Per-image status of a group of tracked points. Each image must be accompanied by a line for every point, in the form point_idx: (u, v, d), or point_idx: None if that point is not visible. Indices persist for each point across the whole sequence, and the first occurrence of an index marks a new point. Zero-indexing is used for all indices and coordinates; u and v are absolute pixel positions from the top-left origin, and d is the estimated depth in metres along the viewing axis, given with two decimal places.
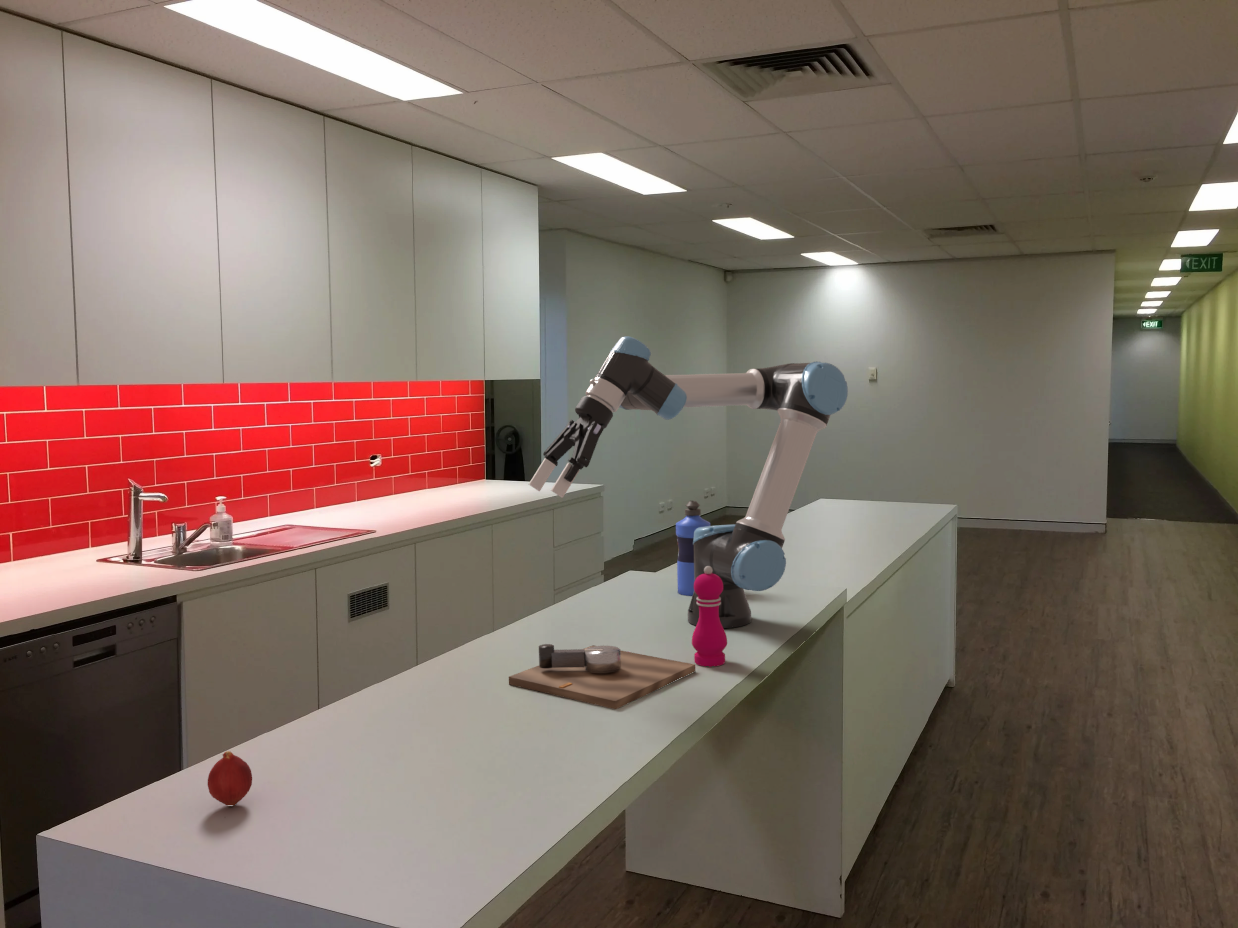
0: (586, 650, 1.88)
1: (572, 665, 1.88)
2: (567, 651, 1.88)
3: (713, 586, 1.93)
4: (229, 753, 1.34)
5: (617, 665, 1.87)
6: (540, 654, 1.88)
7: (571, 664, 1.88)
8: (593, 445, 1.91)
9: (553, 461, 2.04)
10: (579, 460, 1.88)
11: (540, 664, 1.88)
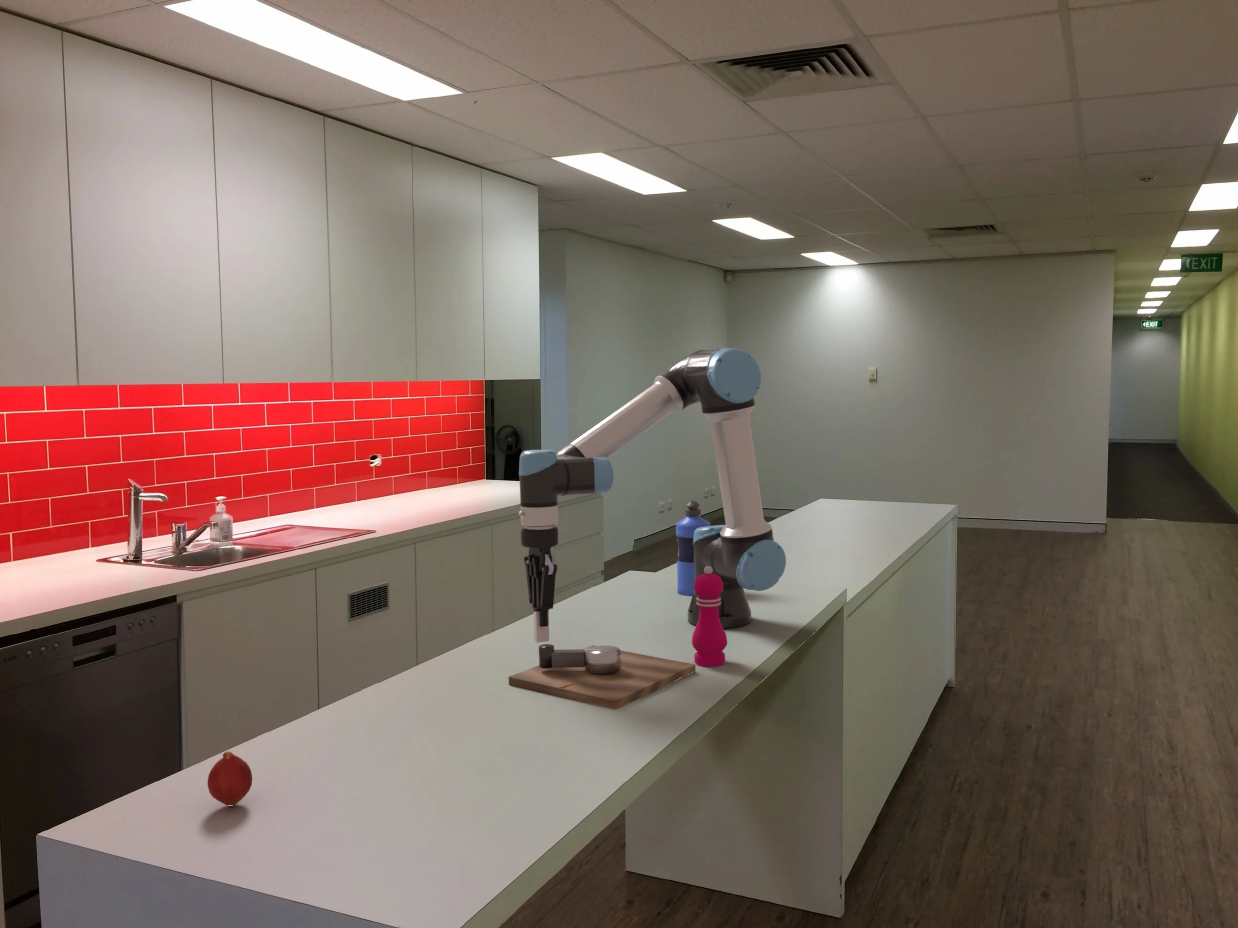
0: (586, 650, 1.88)
1: (572, 665, 1.88)
2: (567, 651, 1.88)
3: (713, 586, 1.93)
4: (229, 753, 1.34)
5: (617, 665, 1.87)
6: (540, 654, 1.88)
7: (571, 664, 1.88)
8: (552, 587, 1.92)
9: None
10: (542, 609, 1.93)
11: (540, 664, 1.88)
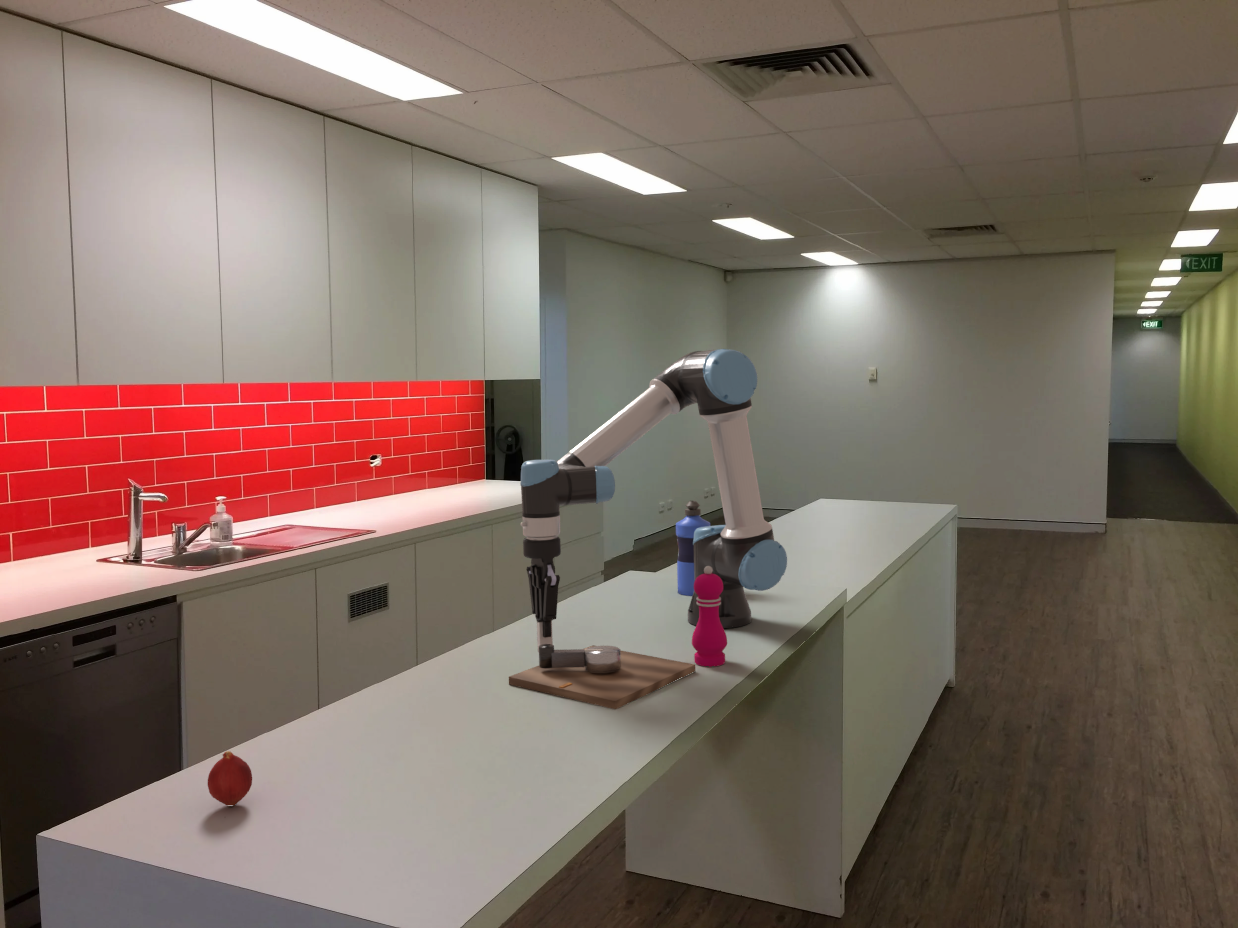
0: (586, 650, 1.88)
1: (572, 665, 1.88)
2: (567, 651, 1.88)
3: (713, 586, 1.93)
4: (229, 753, 1.34)
5: (617, 665, 1.87)
6: (540, 654, 1.88)
7: (571, 664, 1.88)
8: (555, 598, 1.91)
9: None
10: (545, 620, 1.92)
11: (540, 664, 1.88)
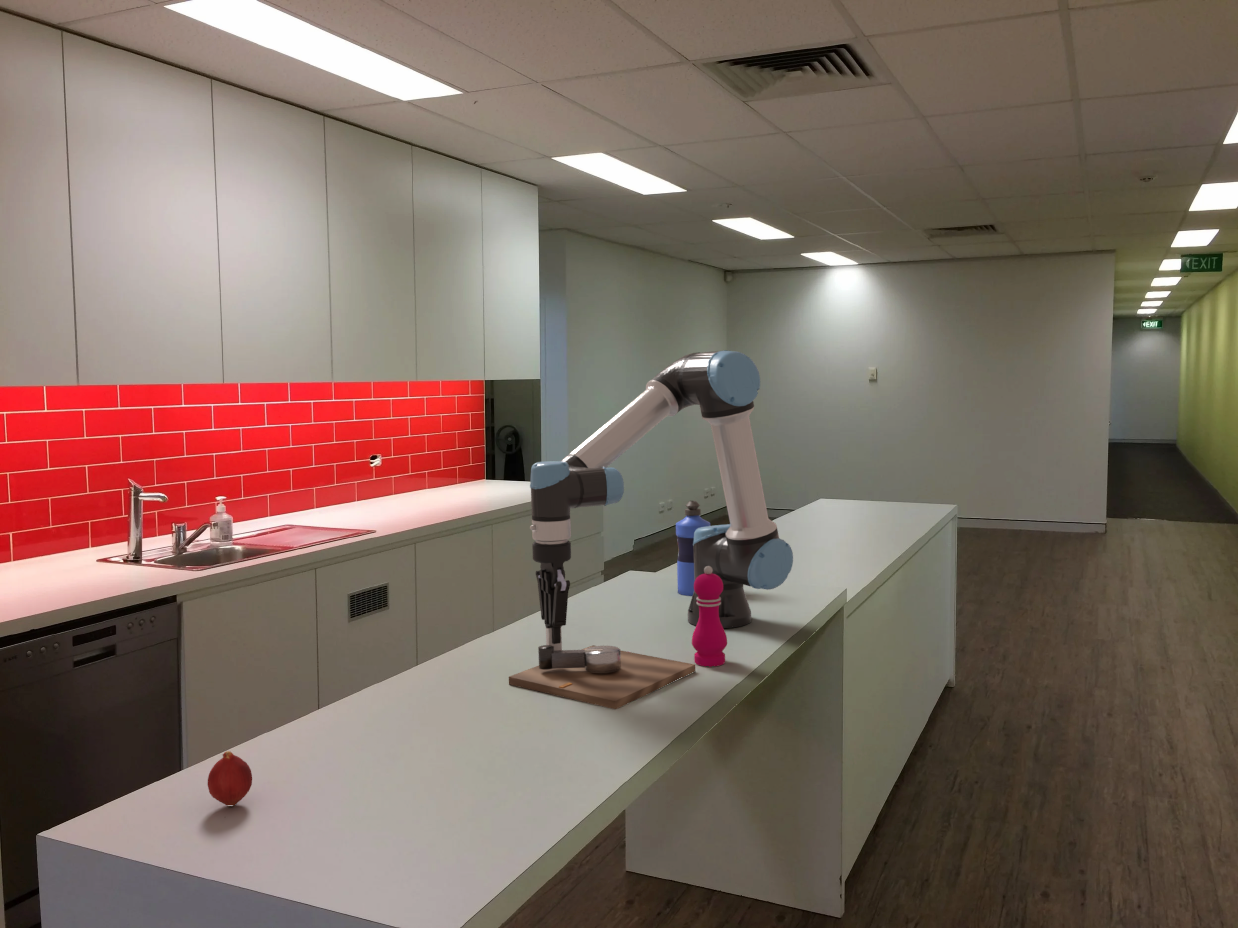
0: (586, 650, 1.88)
1: (572, 666, 1.87)
2: (567, 652, 1.87)
3: (713, 586, 1.93)
4: (229, 753, 1.34)
5: (618, 664, 1.87)
6: (540, 655, 1.87)
7: (571, 665, 1.87)
8: (564, 603, 1.86)
9: None
10: (555, 626, 1.87)
11: (540, 665, 1.87)
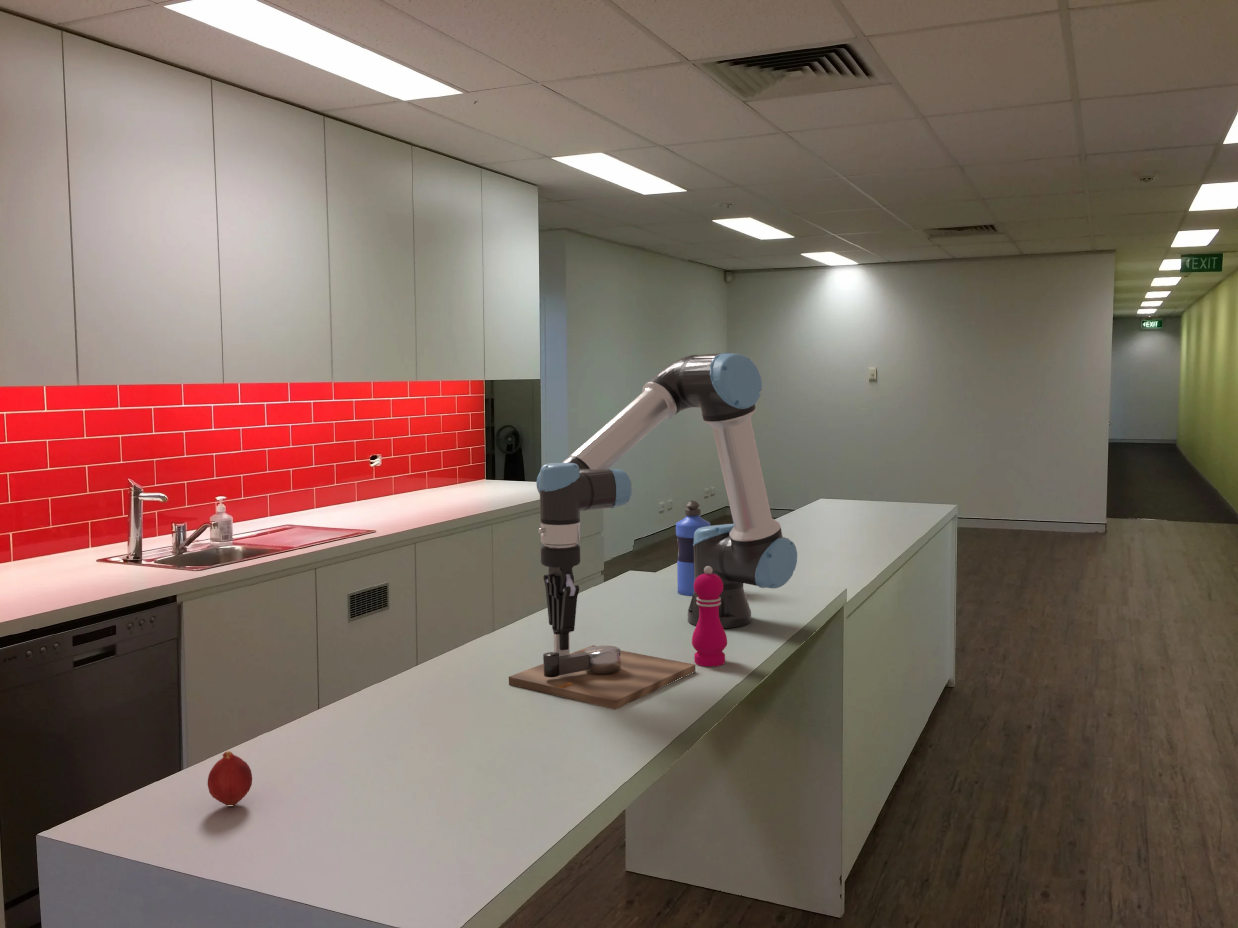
0: (588, 652, 1.87)
1: (578, 669, 1.85)
2: (572, 656, 1.84)
3: (713, 586, 1.93)
4: (229, 753, 1.34)
5: (620, 662, 1.88)
6: (548, 663, 1.82)
7: (577, 668, 1.85)
8: (573, 609, 1.81)
9: None
10: (563, 632, 1.82)
11: (548, 673, 1.82)
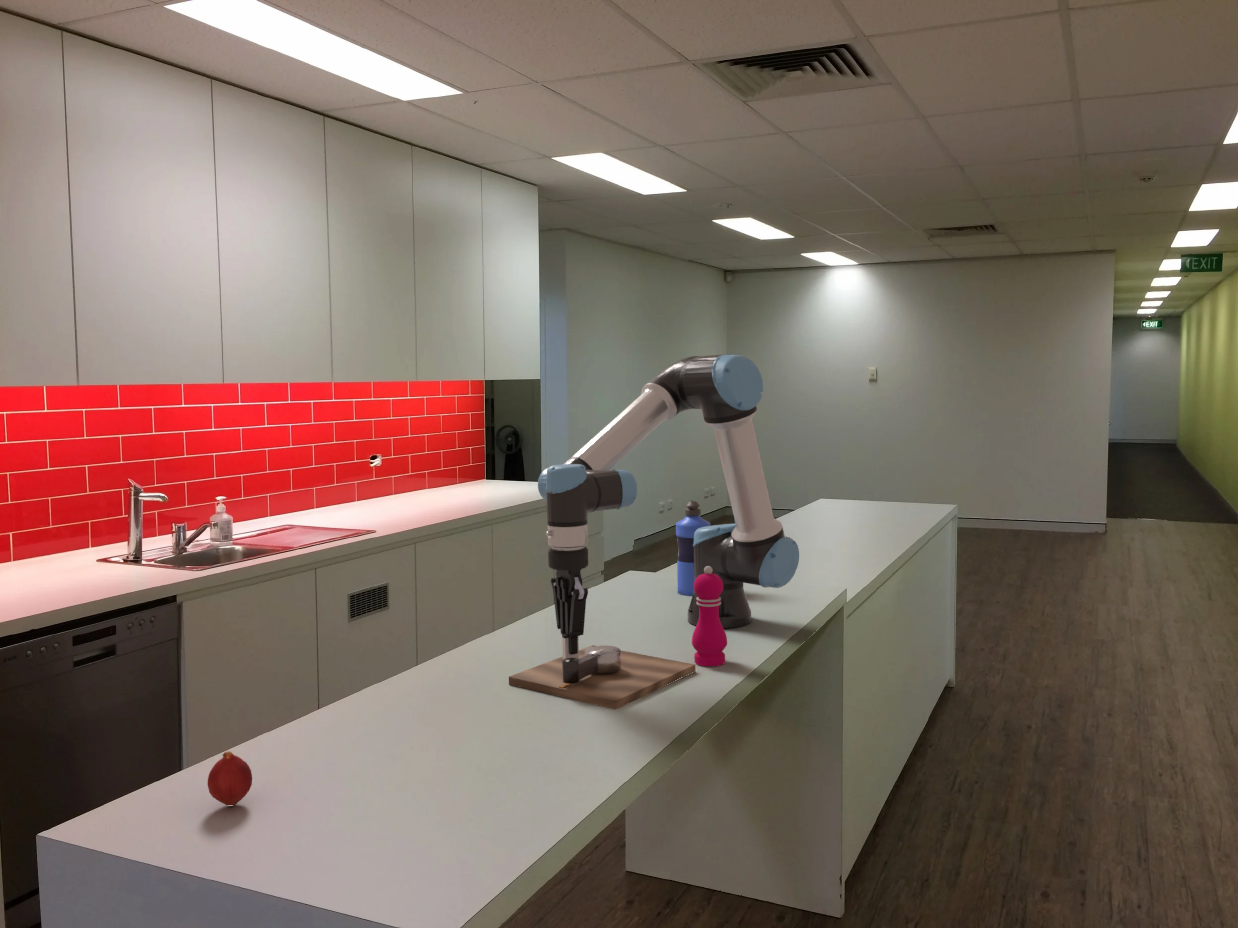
0: (594, 654, 1.86)
1: (590, 672, 1.83)
2: (586, 659, 1.82)
3: (713, 586, 1.93)
4: (229, 753, 1.34)
5: None
6: (571, 669, 1.78)
7: (590, 671, 1.83)
8: (582, 612, 1.78)
9: None
10: (572, 636, 1.79)
11: (571, 680, 1.78)
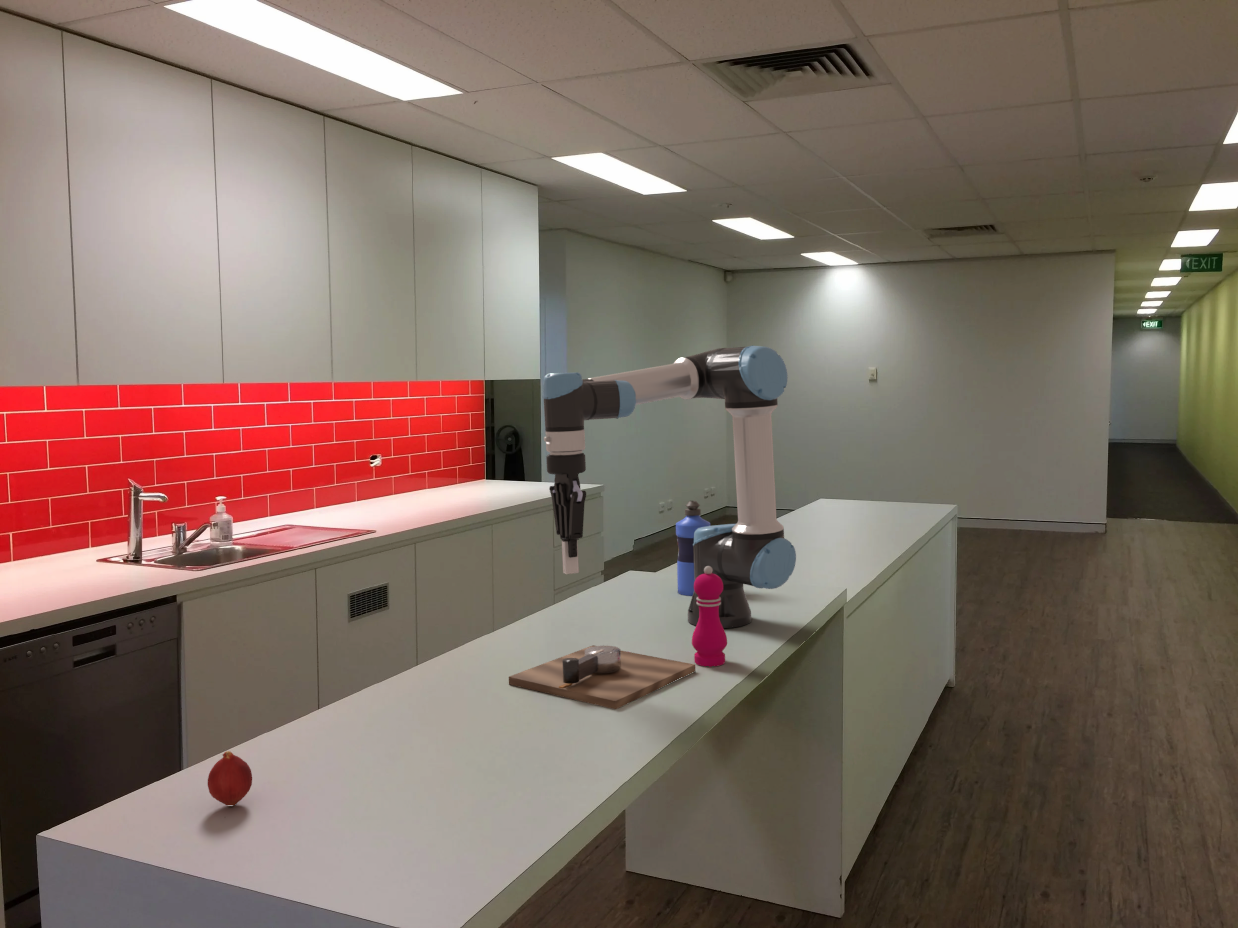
0: (594, 654, 1.86)
1: (590, 672, 1.83)
2: (586, 659, 1.82)
3: (713, 586, 1.93)
4: (229, 753, 1.34)
5: None
6: (572, 669, 1.78)
7: (590, 671, 1.83)
8: (581, 515, 1.83)
9: None
10: (572, 538, 1.84)
11: (571, 680, 1.78)
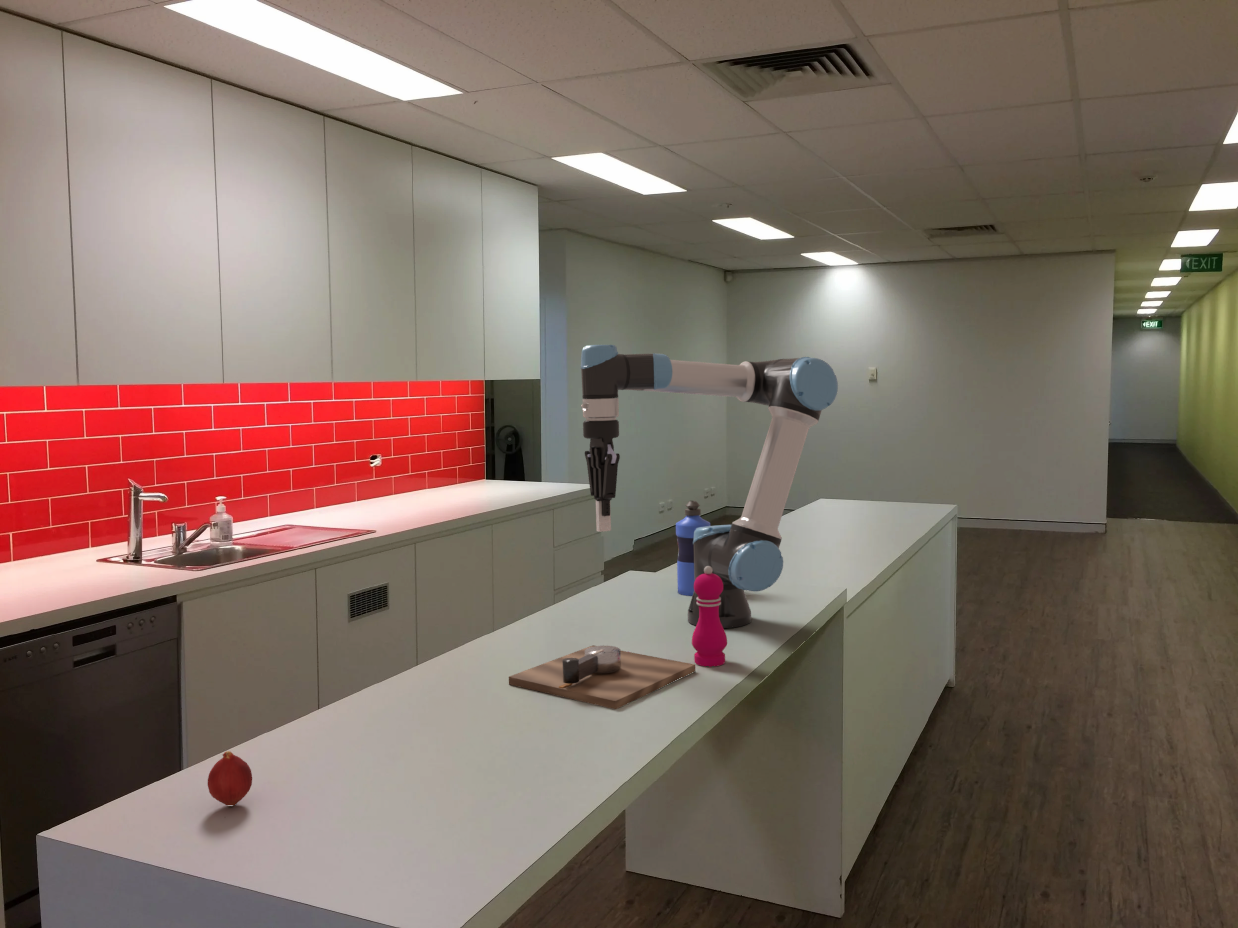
0: (594, 654, 1.86)
1: (590, 672, 1.83)
2: (586, 659, 1.82)
3: (713, 586, 1.93)
4: (229, 753, 1.34)
5: None
6: (572, 669, 1.78)
7: (590, 671, 1.83)
8: (614, 476, 1.99)
9: None
10: (605, 498, 2.00)
11: (571, 680, 1.78)
